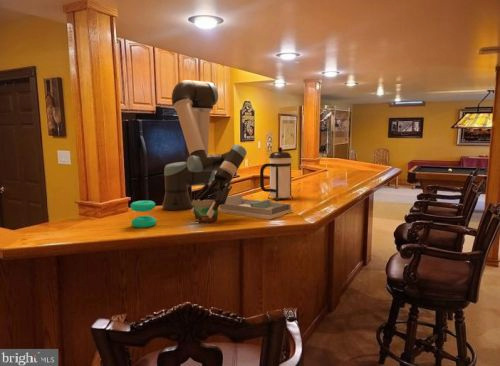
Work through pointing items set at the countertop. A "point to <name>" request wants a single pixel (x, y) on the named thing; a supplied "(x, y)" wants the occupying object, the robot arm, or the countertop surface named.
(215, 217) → the food container
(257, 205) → the pusher paddle
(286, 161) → the coffee press
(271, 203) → the pusher lane
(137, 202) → the donuts
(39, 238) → the countertop surface
